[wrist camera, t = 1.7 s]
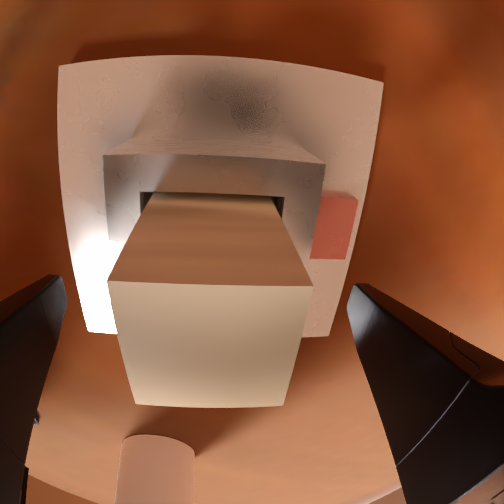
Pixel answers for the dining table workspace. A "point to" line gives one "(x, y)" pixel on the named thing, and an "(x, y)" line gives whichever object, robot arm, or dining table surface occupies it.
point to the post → (209, 302)
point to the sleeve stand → (214, 157)
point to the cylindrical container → (155, 471)
